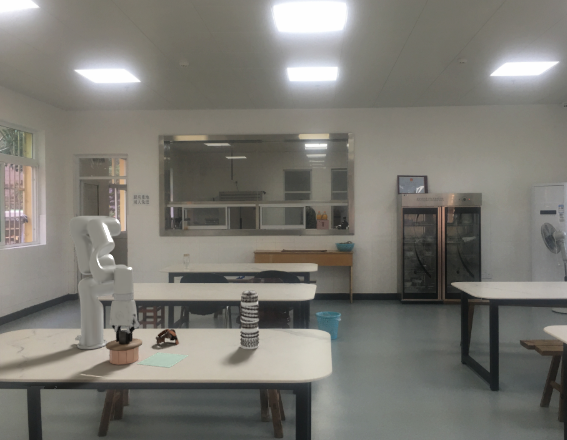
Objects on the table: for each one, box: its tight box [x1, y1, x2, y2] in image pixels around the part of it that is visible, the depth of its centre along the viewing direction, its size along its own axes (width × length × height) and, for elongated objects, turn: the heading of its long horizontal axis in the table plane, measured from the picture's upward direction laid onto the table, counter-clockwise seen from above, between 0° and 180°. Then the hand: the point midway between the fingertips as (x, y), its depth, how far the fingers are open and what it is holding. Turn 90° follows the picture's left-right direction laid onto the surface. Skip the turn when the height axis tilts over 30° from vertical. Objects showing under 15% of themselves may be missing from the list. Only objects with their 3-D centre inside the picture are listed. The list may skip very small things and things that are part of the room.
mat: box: [136, 351, 189, 368], centre depth 177 cm, size 15×15×1 cm
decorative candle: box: [238, 290, 260, 350], centre depth 195 cm, size 9×9×25 cm
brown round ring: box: [155, 328, 180, 346], centre depth 200 cm, size 12×10×8 cm
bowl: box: [109, 346, 140, 366], centre depth 176 cm, size 11×11×6 cm
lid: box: [105, 329, 143, 351], centre depth 176 cm, size 14×14×6 cm
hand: (124, 341), depth 176 cm, fingers closed on lid, 4 cm apart
